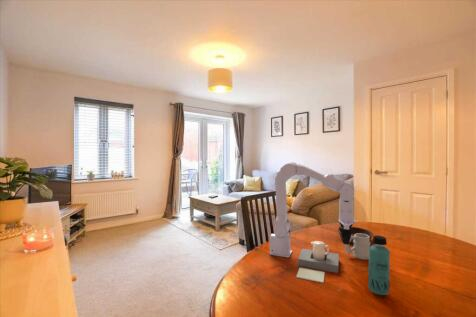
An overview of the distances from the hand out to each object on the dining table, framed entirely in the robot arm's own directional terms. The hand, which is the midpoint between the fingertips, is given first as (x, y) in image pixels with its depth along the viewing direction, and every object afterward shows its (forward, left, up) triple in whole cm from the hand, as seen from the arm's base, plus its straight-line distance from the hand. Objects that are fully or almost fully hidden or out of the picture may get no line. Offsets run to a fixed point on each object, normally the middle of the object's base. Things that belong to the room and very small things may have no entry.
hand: (346, 240), depth 105 cm
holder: (-11, -4, -10) cm, 15 cm away
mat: (-13, -16, -10) cm, 23 cm away
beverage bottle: (+10, -20, -10) cm, 25 cm away
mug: (+5, +10, -10) cm, 15 cm away
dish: (+5, +33, -11) cm, 35 cm away
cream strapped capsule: (-11, -4, -10) cm, 15 cm away
